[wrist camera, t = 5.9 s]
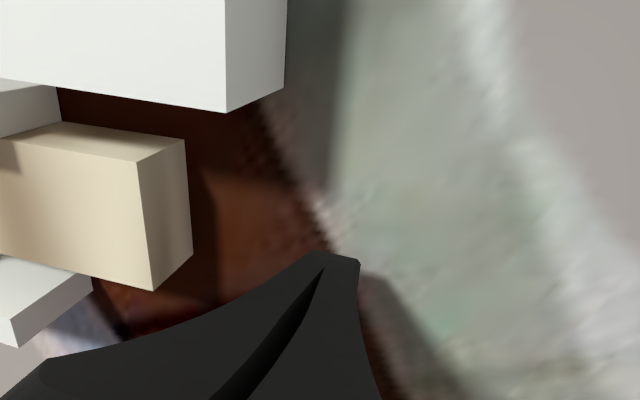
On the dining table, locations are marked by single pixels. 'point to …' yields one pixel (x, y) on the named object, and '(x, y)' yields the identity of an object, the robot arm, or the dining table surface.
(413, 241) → the dining table surface
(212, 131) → the dining table surface
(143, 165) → the beige rectangular block
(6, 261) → the end cap
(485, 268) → the dining table surface
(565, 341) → the dining table surface
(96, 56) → the white u-shaped block
